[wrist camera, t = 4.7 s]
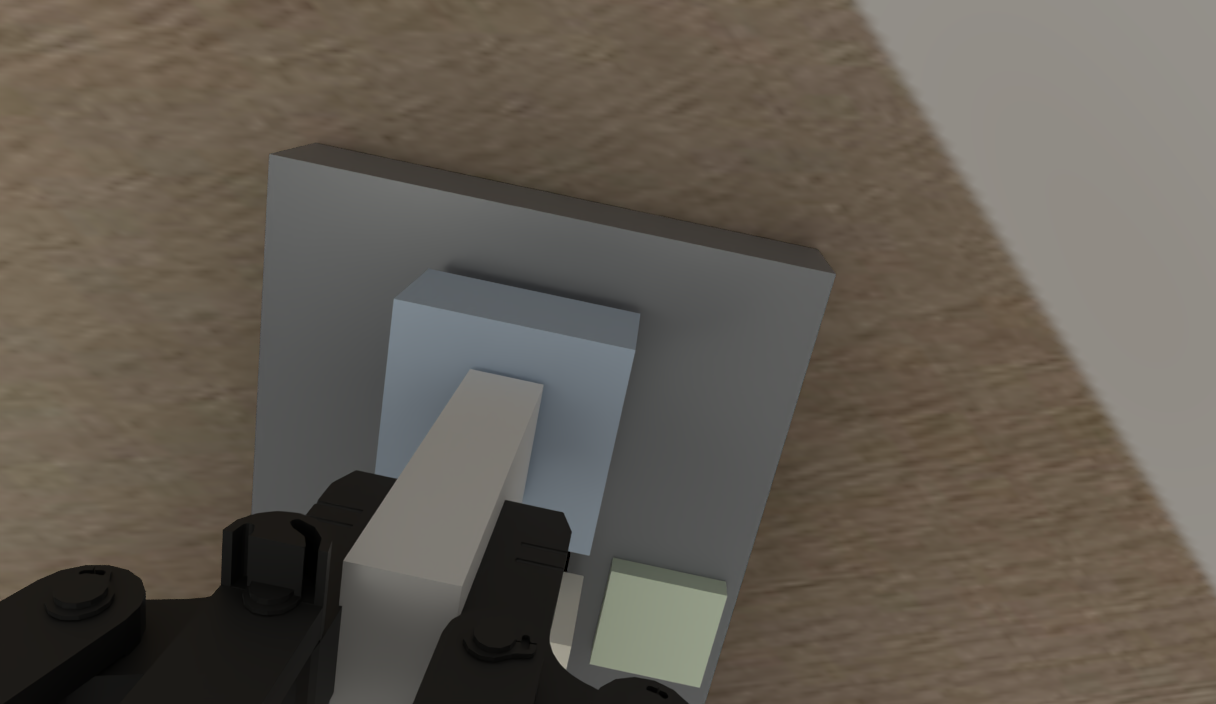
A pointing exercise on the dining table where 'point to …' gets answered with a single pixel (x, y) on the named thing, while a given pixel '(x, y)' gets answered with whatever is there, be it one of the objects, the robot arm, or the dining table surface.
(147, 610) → the robot arm
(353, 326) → the keypad
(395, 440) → the key slate
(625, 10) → the dining table surface
